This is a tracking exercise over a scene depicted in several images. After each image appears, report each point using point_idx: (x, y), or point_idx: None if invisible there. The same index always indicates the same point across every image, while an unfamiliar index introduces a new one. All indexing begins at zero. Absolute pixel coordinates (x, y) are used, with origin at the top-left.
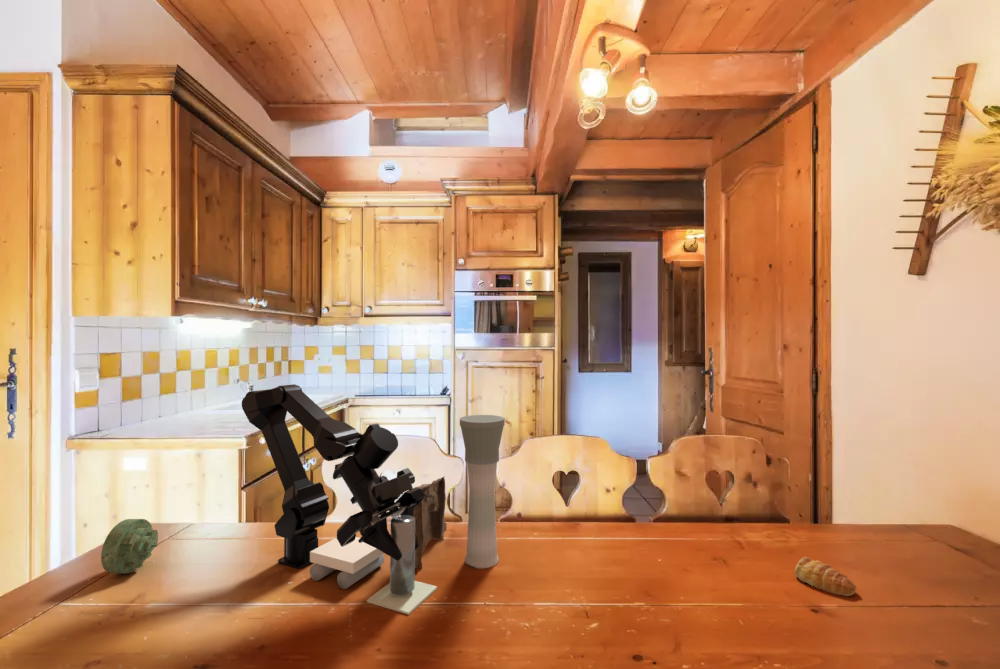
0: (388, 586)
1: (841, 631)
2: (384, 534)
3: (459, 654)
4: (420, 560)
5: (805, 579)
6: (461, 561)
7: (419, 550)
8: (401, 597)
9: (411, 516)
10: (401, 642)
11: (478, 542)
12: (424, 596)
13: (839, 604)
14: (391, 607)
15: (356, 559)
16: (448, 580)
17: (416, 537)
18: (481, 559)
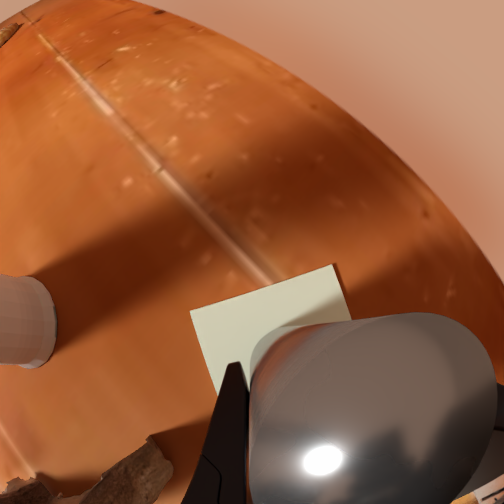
0: None
1: (60, 5)
2: (497, 388)
3: (318, 103)
4: (149, 443)
5: (4, 39)
6: (55, 365)
7: (135, 464)
8: None
9: (265, 484)
10: (387, 197)
11: (2, 295)
12: (252, 297)
13: (28, 22)
14: (351, 319)
15: None
16: (138, 321)
17: (218, 401)
18: (33, 292)
